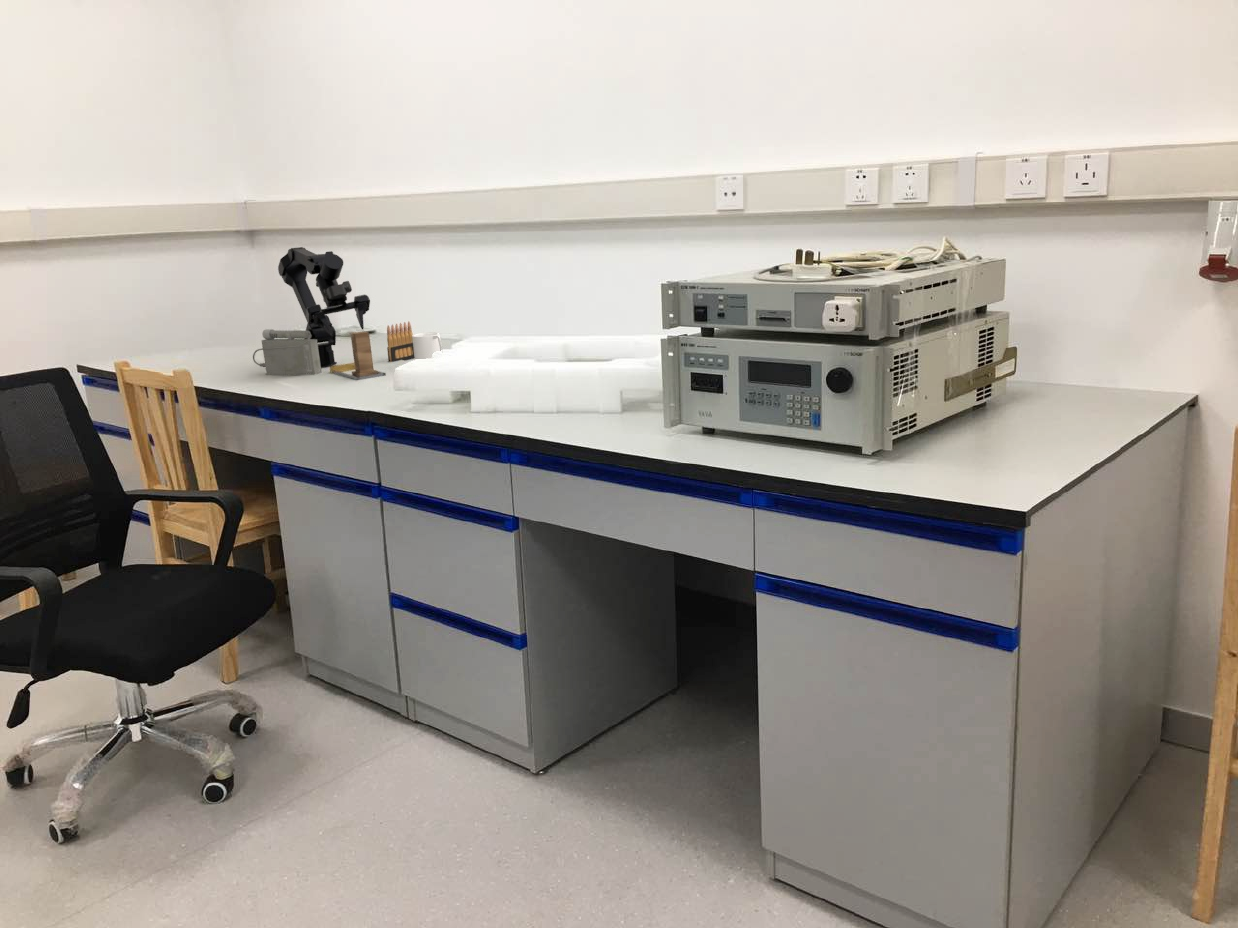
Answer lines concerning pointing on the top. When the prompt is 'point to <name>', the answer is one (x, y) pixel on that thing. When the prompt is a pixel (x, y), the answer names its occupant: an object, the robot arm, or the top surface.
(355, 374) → the plate
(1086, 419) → the top surface
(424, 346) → the cup
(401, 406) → the top surface
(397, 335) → the ammunition clip
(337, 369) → the track
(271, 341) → the geiger counter
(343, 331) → the top surface
